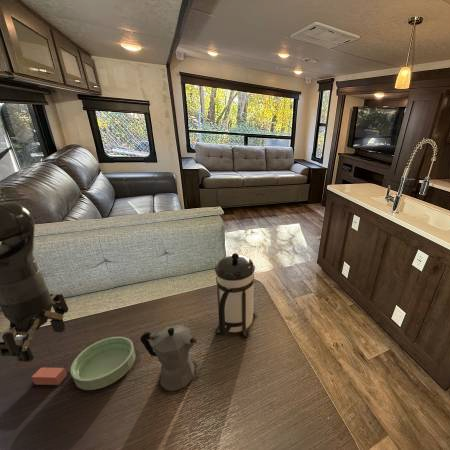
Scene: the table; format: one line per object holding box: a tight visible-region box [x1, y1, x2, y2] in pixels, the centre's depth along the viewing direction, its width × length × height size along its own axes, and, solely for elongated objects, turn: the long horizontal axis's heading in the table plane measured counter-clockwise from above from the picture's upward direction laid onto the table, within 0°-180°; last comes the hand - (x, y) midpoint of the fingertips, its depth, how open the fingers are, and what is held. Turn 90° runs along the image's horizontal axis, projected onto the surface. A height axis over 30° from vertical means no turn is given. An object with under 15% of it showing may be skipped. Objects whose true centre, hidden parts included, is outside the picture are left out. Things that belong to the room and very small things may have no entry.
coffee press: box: [214, 252, 256, 338], centre depth 84 cm, size 17×16×30 cm
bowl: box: [70, 336, 137, 391], centre depth 71 cm, size 14×14×4 cm
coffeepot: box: [140, 324, 198, 392], centre depth 68 cm, size 15×9×18 cm, turn 86°
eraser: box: [31, 367, 68, 386], centre depth 67 cm, size 6×3×3 cm, turn 92°
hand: (44, 344), depth 61 cm, fingers open, 8 cm apart
